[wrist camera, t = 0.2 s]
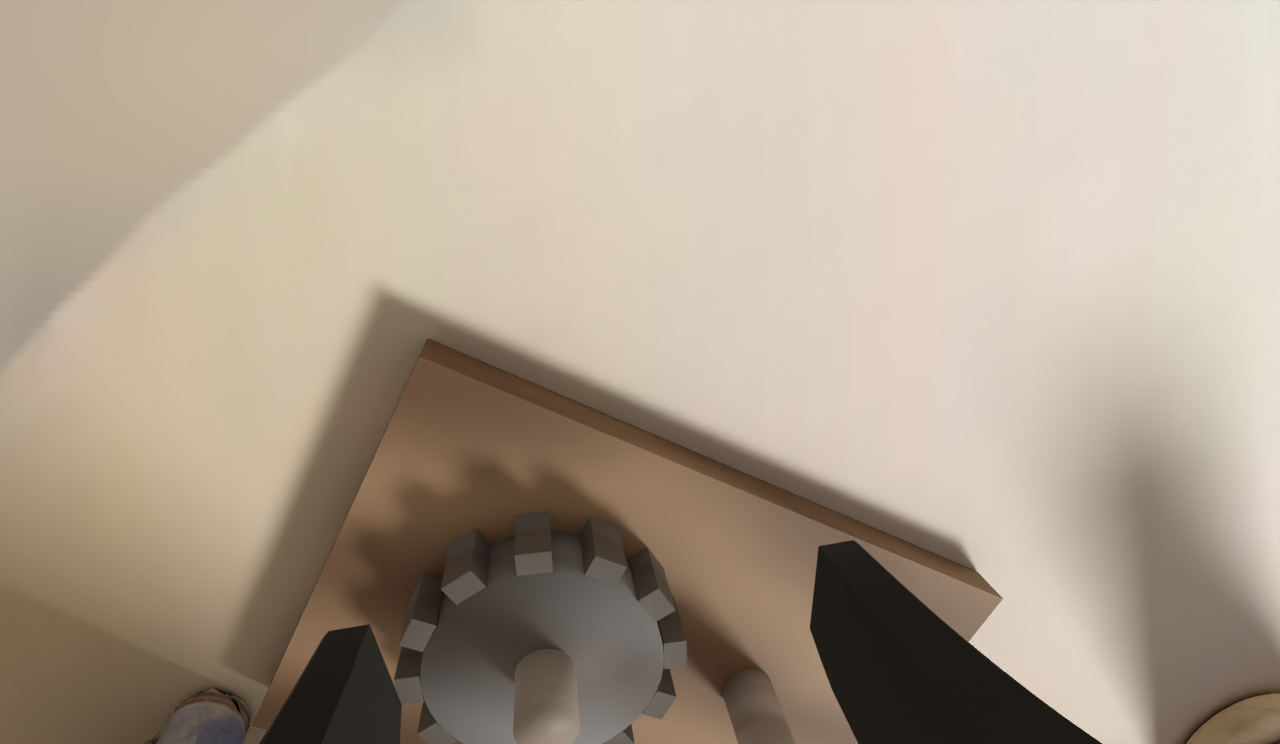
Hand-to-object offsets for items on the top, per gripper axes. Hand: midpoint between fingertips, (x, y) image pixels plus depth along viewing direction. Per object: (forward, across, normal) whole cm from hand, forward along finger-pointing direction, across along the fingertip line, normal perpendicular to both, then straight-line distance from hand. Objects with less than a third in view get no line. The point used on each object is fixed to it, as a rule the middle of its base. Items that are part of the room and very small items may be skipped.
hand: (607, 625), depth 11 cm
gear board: (+9, -2, +12) cm, 15 cm away
